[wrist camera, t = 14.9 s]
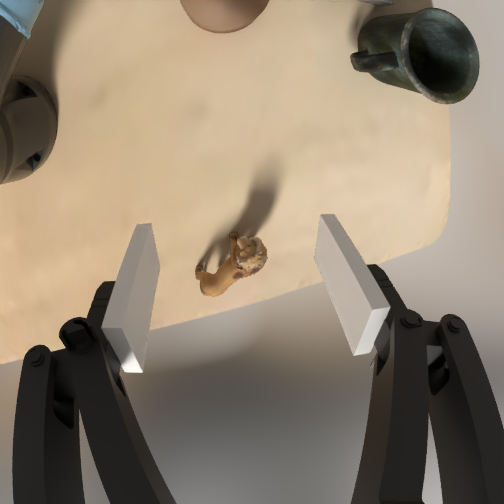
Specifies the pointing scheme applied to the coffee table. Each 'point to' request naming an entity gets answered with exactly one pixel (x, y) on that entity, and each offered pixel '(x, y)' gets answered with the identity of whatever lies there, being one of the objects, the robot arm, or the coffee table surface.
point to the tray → (379, 2)
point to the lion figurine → (234, 265)
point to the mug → (420, 54)
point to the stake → (223, 13)
